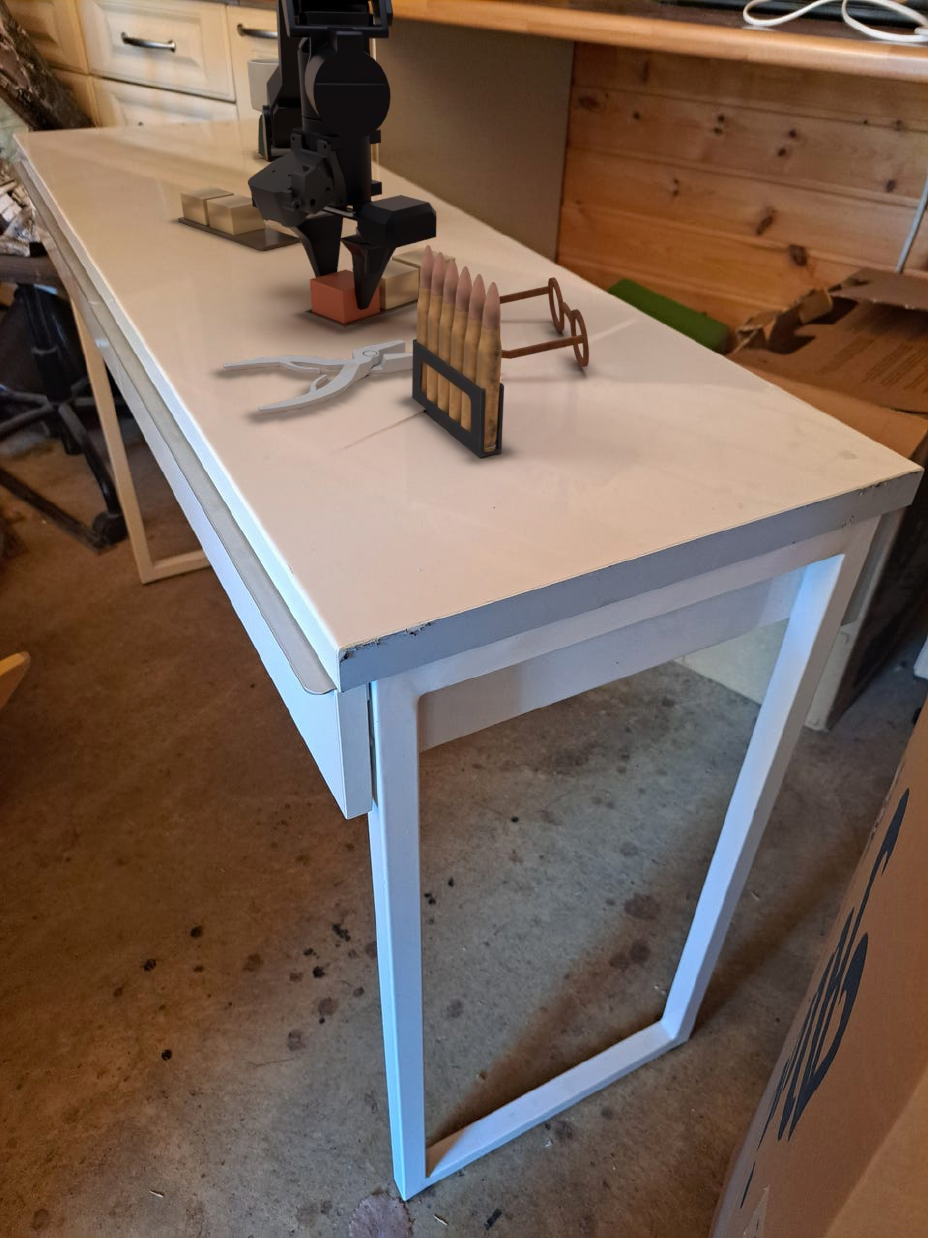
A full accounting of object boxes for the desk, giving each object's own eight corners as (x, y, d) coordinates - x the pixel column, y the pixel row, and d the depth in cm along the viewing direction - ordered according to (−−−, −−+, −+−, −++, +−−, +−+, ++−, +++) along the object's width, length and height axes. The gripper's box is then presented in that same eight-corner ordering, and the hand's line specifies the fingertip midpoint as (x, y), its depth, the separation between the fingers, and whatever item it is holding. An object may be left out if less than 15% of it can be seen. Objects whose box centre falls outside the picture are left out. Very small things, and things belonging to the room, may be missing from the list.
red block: (347, 300, 86) (345, 268, 85) (380, 312, 84) (379, 280, 82) (311, 311, 84) (309, 279, 82) (344, 323, 81) (342, 291, 80)
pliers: (220, 353, 72) (386, 327, 78) (223, 371, 73) (387, 344, 79) (259, 400, 65) (437, 367, 71) (262, 419, 66) (437, 385, 72)
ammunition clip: (411, 400, 70) (410, 243, 62) (431, 396, 71) (433, 240, 63) (480, 458, 63) (488, 288, 55) (502, 452, 63) (513, 284, 56)
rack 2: (422, 278, 94) (422, 245, 92) (461, 291, 91) (462, 257, 89) (304, 315, 84) (301, 279, 82) (344, 330, 81) (342, 293, 79)
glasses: (590, 379, 74) (597, 320, 71) (438, 383, 73) (439, 323, 69) (554, 323, 85) (559, 270, 81) (419, 326, 83) (420, 271, 80)
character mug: (312, 163, 135) (305, 64, 127) (266, 166, 133) (257, 65, 125) (291, 149, 143) (283, 55, 135) (248, 151, 140) (237, 56, 132)
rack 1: (178, 221, 108) (173, 191, 106) (216, 213, 111) (212, 184, 109) (262, 250, 99) (259, 219, 97) (300, 241, 103) (298, 210, 101)
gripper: (189, 109, 73) (215, 296, 83) (340, 145, 64) (349, 351, 74) (292, 97, 80) (305, 272, 90) (442, 128, 71) (439, 319, 81)
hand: (345, 301), depth 83 cm, fingers closed on red block, 4 cm apart
